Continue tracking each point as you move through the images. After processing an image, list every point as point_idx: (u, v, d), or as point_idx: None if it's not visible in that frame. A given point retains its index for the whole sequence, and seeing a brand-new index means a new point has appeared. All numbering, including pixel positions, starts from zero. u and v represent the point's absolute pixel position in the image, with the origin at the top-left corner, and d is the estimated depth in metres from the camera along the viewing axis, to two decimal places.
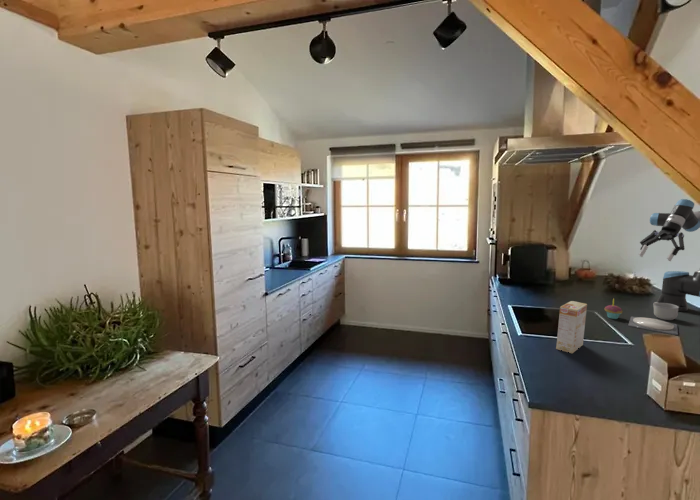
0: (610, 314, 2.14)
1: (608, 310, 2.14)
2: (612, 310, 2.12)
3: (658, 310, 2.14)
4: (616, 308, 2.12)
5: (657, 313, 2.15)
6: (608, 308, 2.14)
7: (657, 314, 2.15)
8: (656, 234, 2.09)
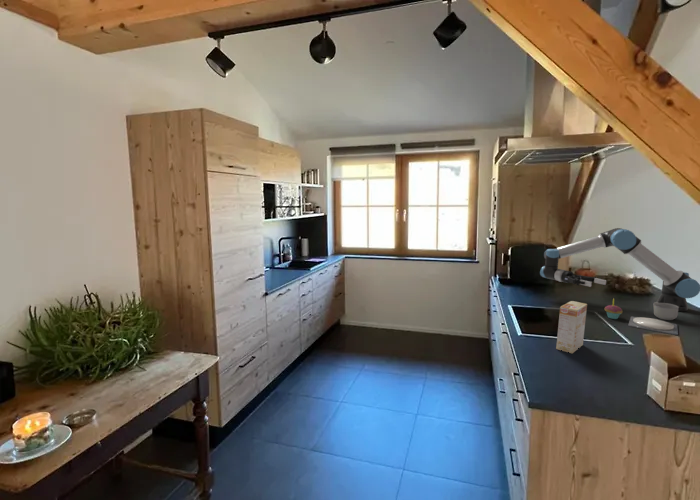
0: (610, 314, 2.14)
1: (608, 310, 2.14)
2: (612, 310, 2.12)
3: (658, 310, 2.14)
4: (616, 308, 2.12)
5: (657, 313, 2.15)
6: (608, 308, 2.14)
7: (657, 314, 2.15)
8: (580, 278, 2.37)
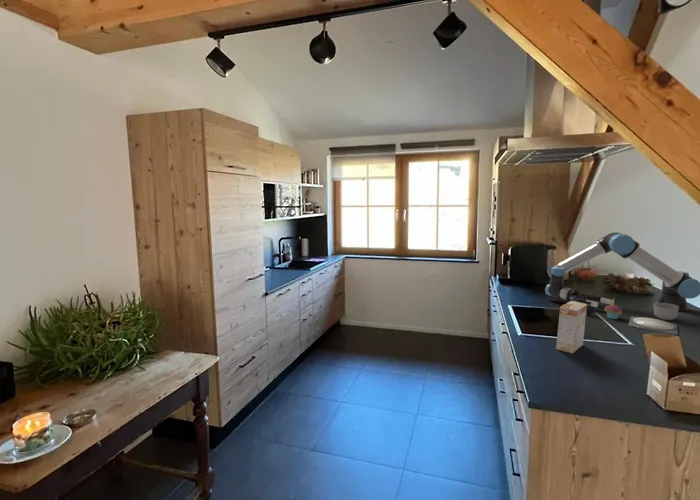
0: (610, 314, 2.14)
1: (608, 310, 2.14)
2: (612, 310, 2.12)
3: (658, 310, 2.14)
4: (616, 308, 2.12)
5: (657, 313, 2.15)
6: (608, 308, 2.14)
7: (657, 314, 2.15)
8: (585, 297, 2.34)
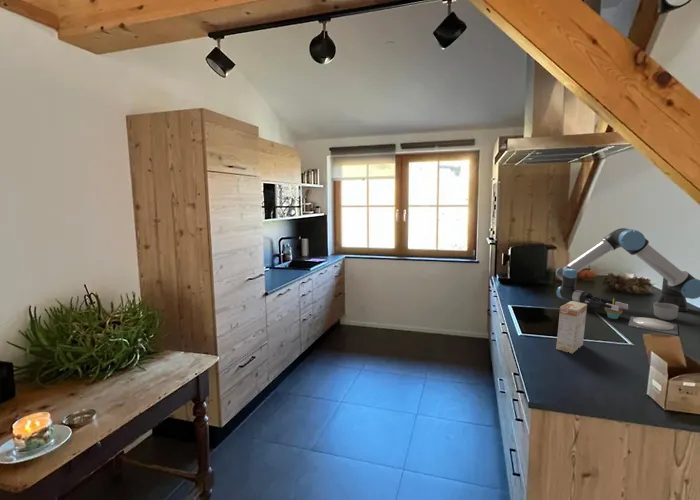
0: (610, 314, 2.14)
1: (608, 310, 2.14)
2: (612, 310, 2.12)
3: (658, 310, 2.14)
4: None
5: (656, 313, 2.15)
6: None
7: (657, 314, 2.15)
8: (599, 300, 2.26)
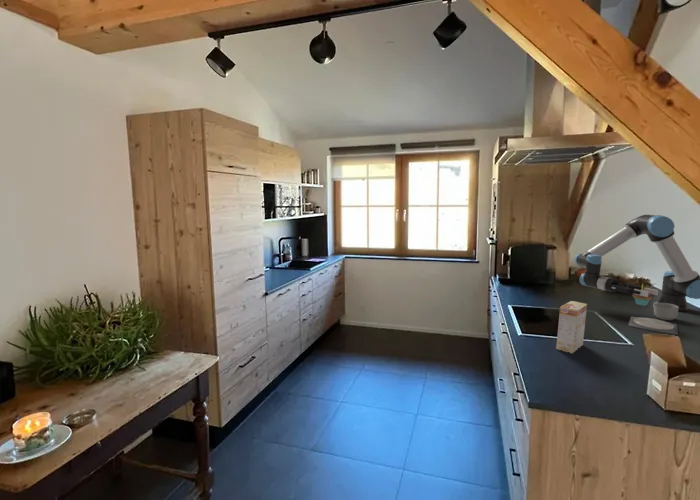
0: (639, 300, 2.03)
1: (637, 296, 2.03)
2: (641, 296, 2.02)
3: (658, 310, 2.14)
4: None
5: (657, 313, 2.15)
6: None
7: (657, 314, 2.15)
8: (626, 286, 2.16)
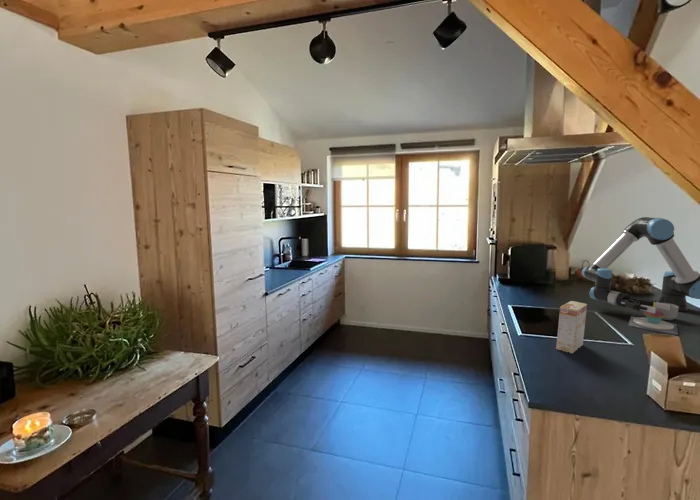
0: (651, 319, 2.01)
1: (649, 315, 2.01)
2: (653, 315, 1.99)
3: None
4: (657, 312, 1.99)
5: None
6: (648, 312, 2.01)
7: None
8: None
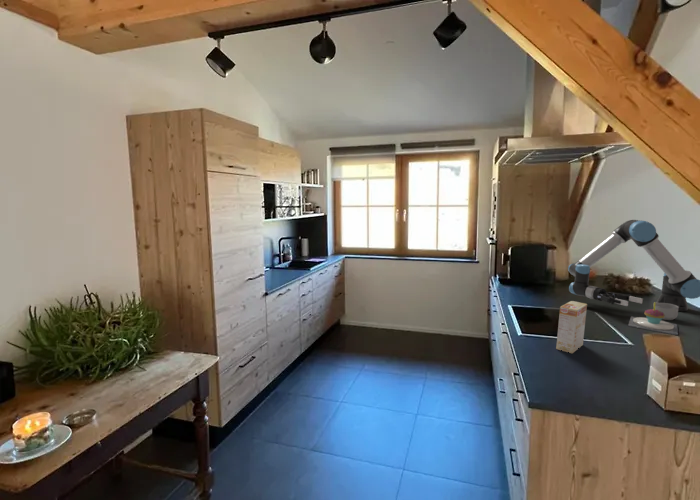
0: (651, 319, 2.01)
1: (649, 314, 2.01)
2: (653, 314, 1.99)
3: None
4: (658, 312, 1.99)
5: None
6: (648, 312, 2.01)
7: None
8: None
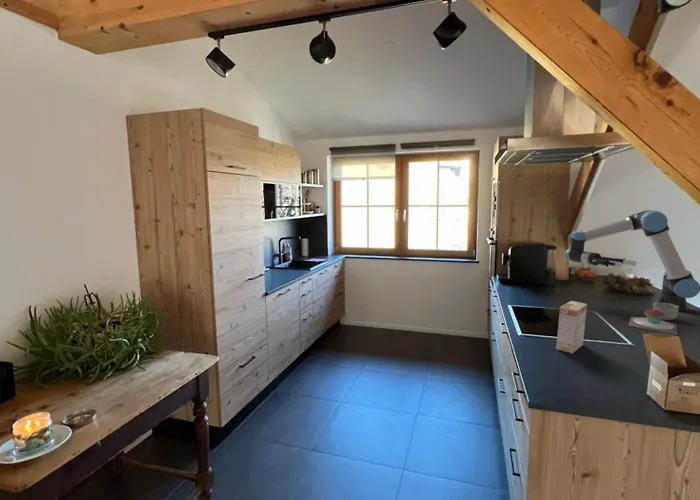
0: (651, 319, 2.01)
1: (649, 314, 2.01)
2: (653, 314, 1.99)
3: None
4: (658, 312, 1.99)
5: None
6: (648, 312, 2.01)
7: None
8: None
